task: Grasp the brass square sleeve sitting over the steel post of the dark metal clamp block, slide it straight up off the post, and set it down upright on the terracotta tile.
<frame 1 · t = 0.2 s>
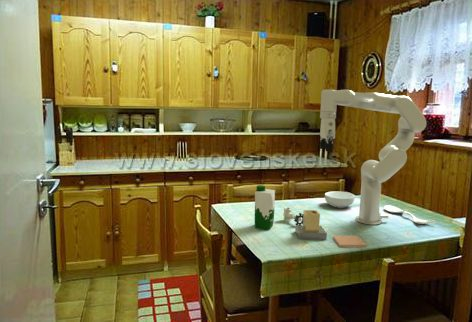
hand: (325, 150, 189), 36 cm above the table, tool pointing down, fingers open, 9 cm apart
tile: (348, 242, 166), on the table
valve: (292, 223, 191), on the table
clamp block: (310, 235, 173), on the table
cereal bowl: (338, 206, 223), on the table
milk carton: (263, 227, 183), on the table
sleeve: (310, 229, 172), point 3 cm above the table, touching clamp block
spoon: (405, 218, 204), on the table
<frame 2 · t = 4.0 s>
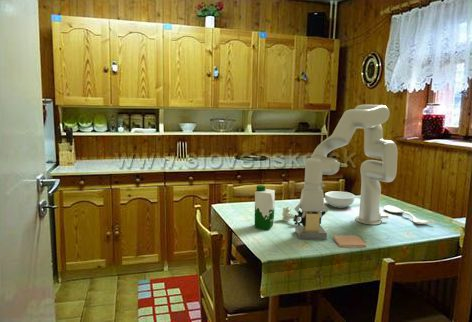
hand: (310, 224, 172), 5 cm above the table, tool pointing down, fingers closed on sleeve, 6 cm apart
sleeve: (310, 229, 172), point 3 cm above the table, touching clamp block, gripper
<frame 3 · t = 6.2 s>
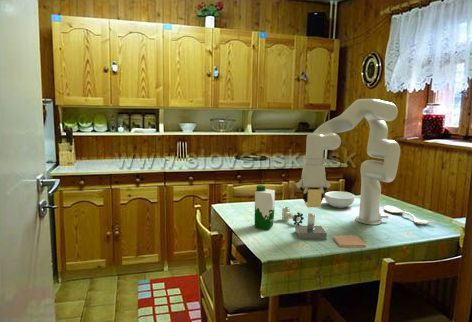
hand: (312, 201, 171), 16 cm above the table, tool pointing down, fingers closed on sleeve, 6 cm apart
sleeve: (312, 205, 171), point 14 cm above the table, touching gripper
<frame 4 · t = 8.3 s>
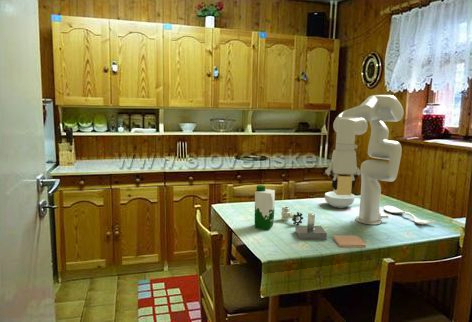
hand: (342, 188, 164), 23 cm above the table, tool pointing down, fingers closed on sleeve, 6 cm apart
sleeve: (342, 193, 164), point 21 cm above the table, touching gripper
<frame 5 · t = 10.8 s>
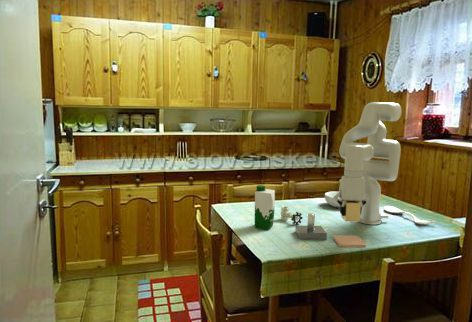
hand: (350, 214, 163), 12 cm above the table, tool pointing down, fingers closed on sleeve, 6 cm apart
sleeve: (350, 219, 164), point 10 cm above the table, touching gripper
when the fingers open (4 cm above the table, at t = 12.8 s): sleeve drops 1 cm, resting on tile.
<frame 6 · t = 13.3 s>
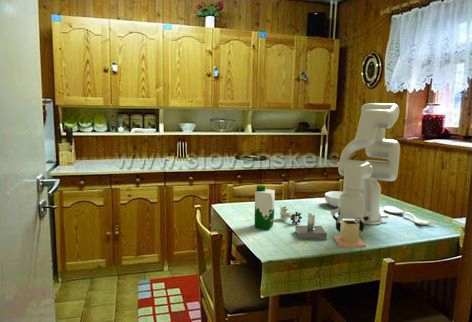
hand: (349, 230, 165), 5 cm above the table, tool pointing down, fingers open, 9 cm apart
sleeve: (348, 240, 165), point 1 cm above the table, touching tile
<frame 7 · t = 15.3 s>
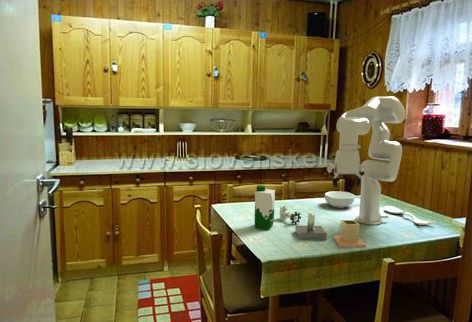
hand: (346, 186, 167), 24 cm above the table, tool pointing down, fingers open, 9 cm apart
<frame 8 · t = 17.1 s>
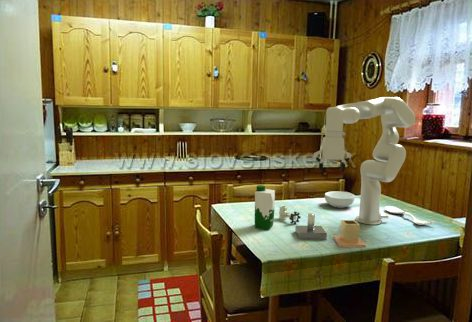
hand: (331, 171, 176), 28 cm above the table, tool pointing down, fingers open, 9 cm apart
at the end: sleeve inside the target area on the tile (0.0 cm from its centre), point 1.0 cm above the tile's base; sleeve tilted 0°; the gripper is holding nothing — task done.
